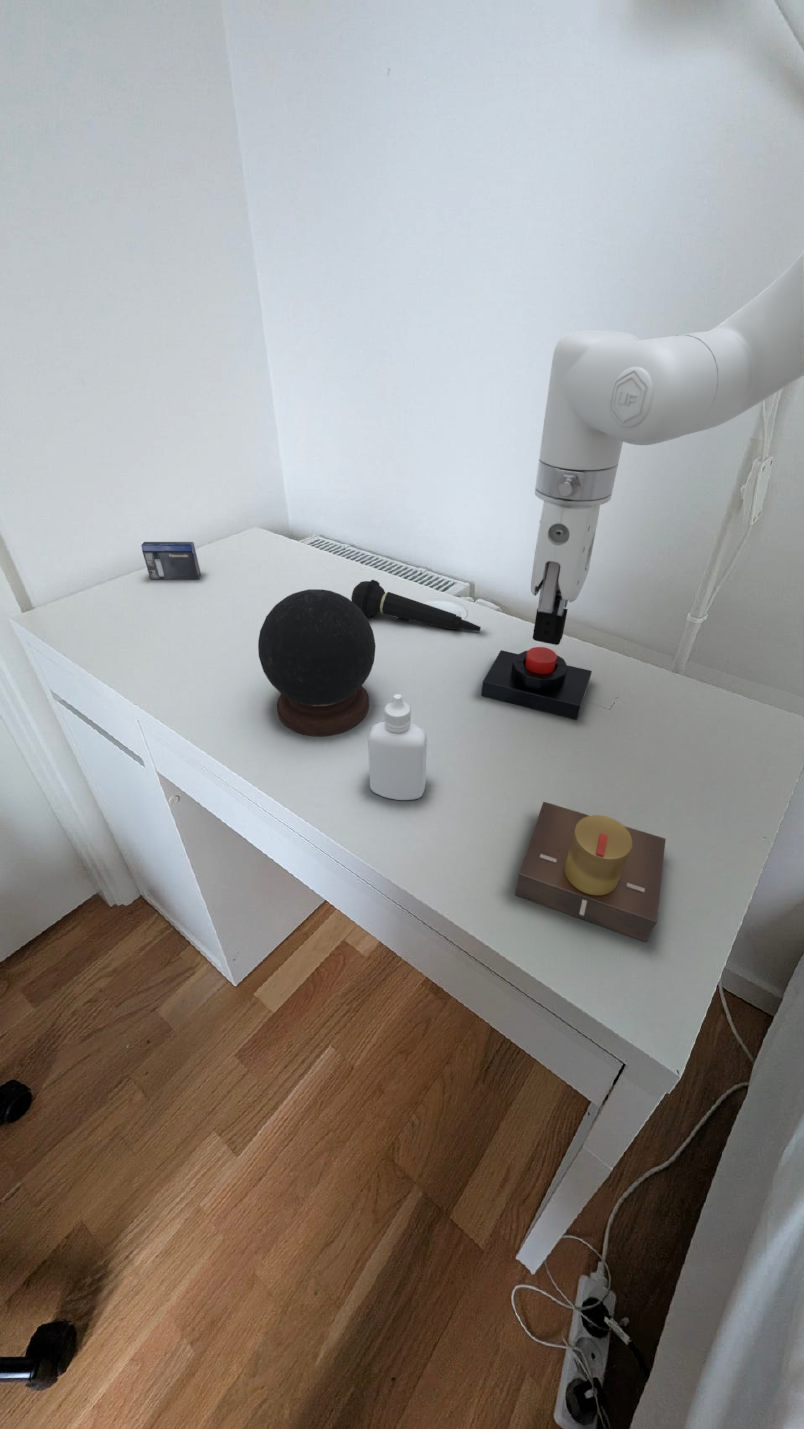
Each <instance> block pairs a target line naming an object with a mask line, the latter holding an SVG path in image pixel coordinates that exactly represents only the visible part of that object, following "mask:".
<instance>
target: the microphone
mask: <svg viewBox="0 0 804 1429" xmlns="http://www.w3.org/2000/svg"><path fill="white" fill-rule="evenodd" d="M380 584H381V583H380V582H379V581H378V580H375V579H371V580H363V581H360V582H359V583H358V584H357V585H355V586H354V588H353V590H352V592H351V597H350V598H351V599H350V600H351V601H352V602H353V603H354V604H355V605H356V606H358V607H359V608H360V609H361V611H362V612H363V613H364V615H365V616H366V618H369V619H370V618H371V617H373V616H376V615H378V614H380V613H381V614H382V615H385V616H390V617H394V618H397V619H398V620H399V621H403V622H410V621H413V622H417V623H422V624H426V625H431V626H435V627H439V628H445V629H449V630H453V629H454V630H457V631H458V630H459V629H461V630H465V631H467V630H468V631H473V632H474V631H475V632H480V631H481V629H482V627H481V626H479V625H477V624H475V623H472V622H470V621H468V620H465V619H463V618H462V616H458V615H457V614H456V613H453V612H450V611H447V610H444V609H441V608H438V607H435V606H432V605H429V604H427V603H423V602H419V601H417V600H415V599H412V598H408V597H406V596H403V595H399V594H396V593H393V592H390V591H387V592H386V591H385V589H384V588H383V587H382V586H381V585H380Z"/></svg>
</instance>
